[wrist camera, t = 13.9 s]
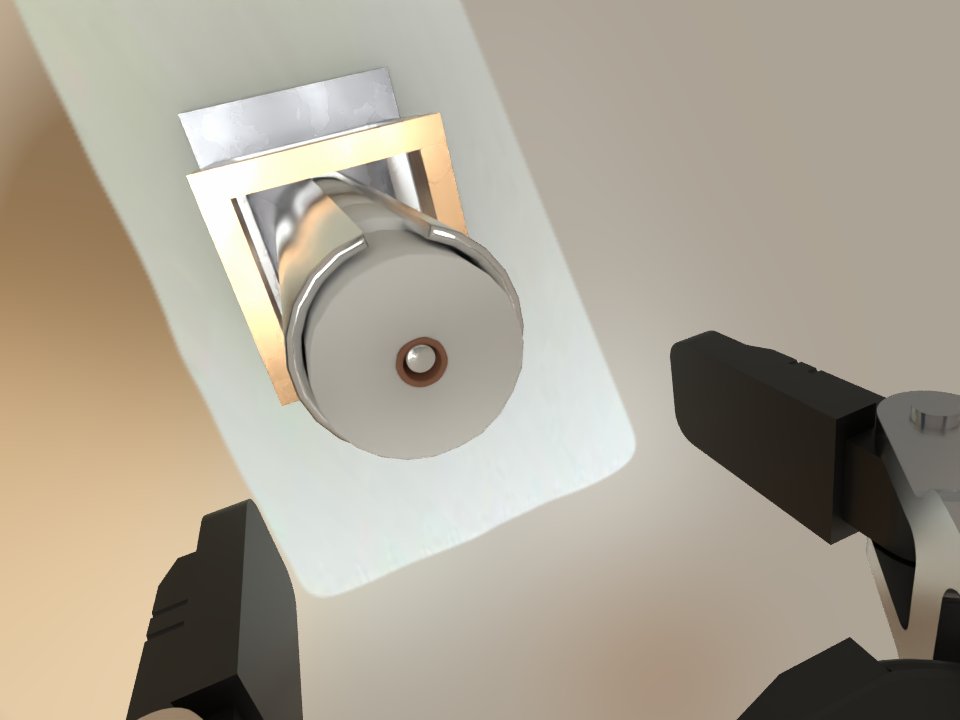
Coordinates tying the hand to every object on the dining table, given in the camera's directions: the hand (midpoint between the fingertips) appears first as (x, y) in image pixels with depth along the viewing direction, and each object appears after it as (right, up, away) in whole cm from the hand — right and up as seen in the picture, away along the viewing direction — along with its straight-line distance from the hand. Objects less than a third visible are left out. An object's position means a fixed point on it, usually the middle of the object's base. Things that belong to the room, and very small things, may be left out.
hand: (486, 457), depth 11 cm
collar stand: (-10, +10, +27) cm, 31 cm away
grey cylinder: (-10, +10, +26) cm, 30 cm away
